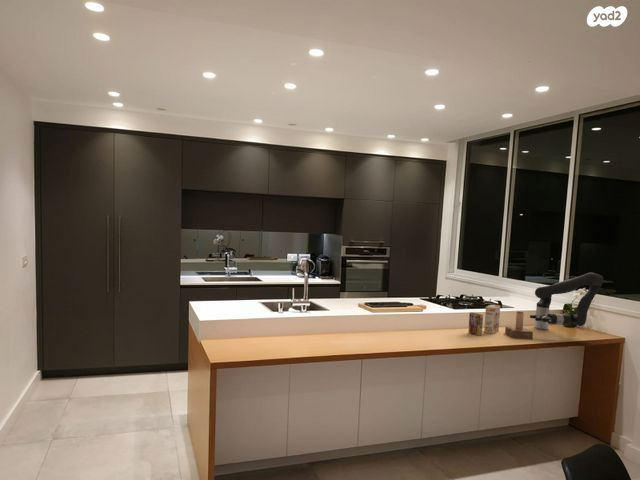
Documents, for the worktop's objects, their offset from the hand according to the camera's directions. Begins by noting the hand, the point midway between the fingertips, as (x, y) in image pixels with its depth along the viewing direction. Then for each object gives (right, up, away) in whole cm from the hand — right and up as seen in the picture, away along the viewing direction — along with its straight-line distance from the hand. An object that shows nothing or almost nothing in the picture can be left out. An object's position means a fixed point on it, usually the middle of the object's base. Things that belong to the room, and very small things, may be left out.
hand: (532, 317), depth 326 cm
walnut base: (-10, -13, 0) cm, 17 cm away
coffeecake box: (-26, -13, +11) cm, 31 cm away
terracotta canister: (-10, -8, 0) cm, 13 cm away
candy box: (-42, -12, 0) cm, 44 cm away
